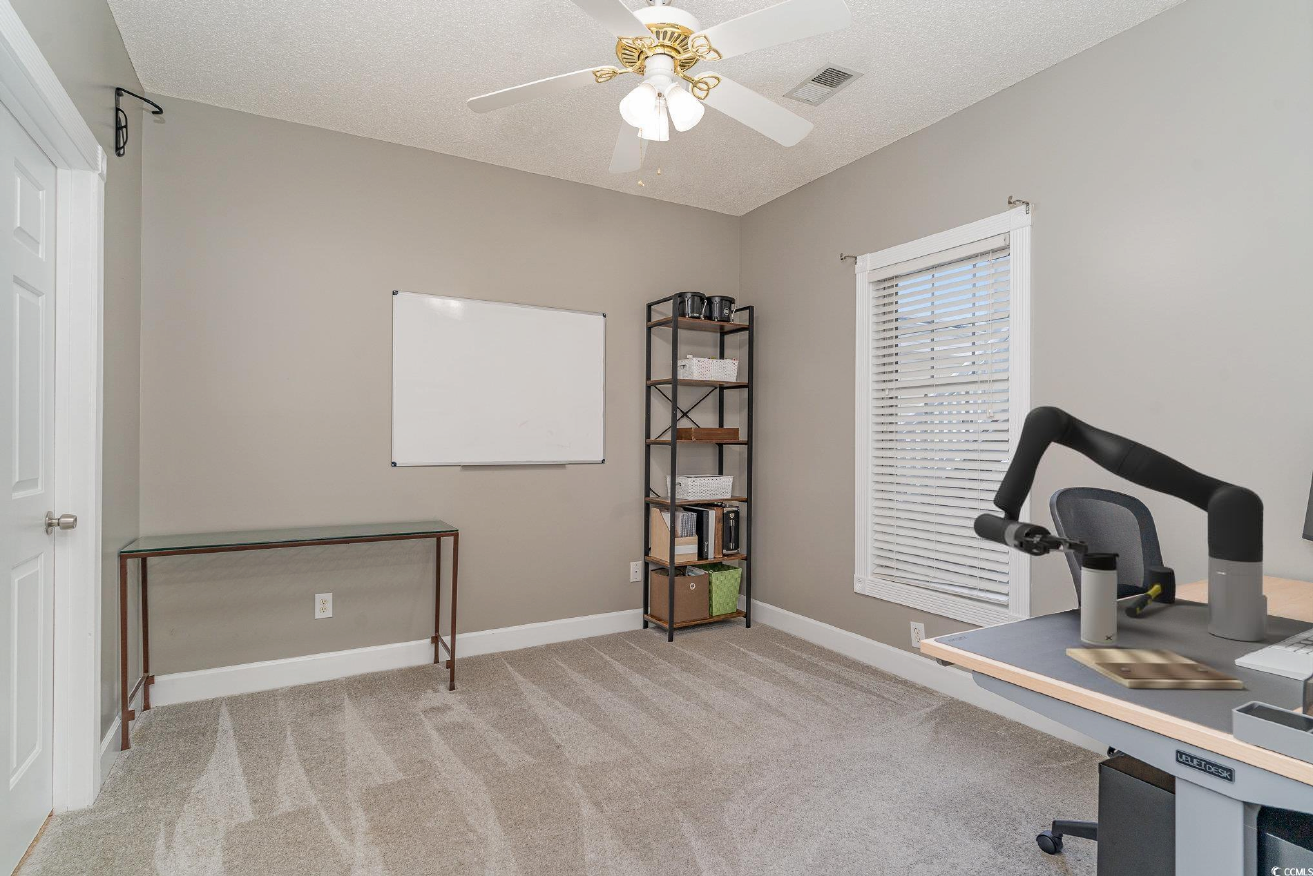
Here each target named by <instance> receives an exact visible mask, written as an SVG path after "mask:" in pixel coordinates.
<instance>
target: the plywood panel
mask: <svg viewBox="0 0 1313 876" xmlns="http://www.w3.org/2000/svg"><path fill="white" fill-rule="evenodd" d="M1065 649H1066V650H1065V654H1067V655H1066V656H1069V657H1070V658H1072V659H1074V660H1076V661H1077V662H1080V663H1081V664H1082V665H1085V666H1087V667H1089V668H1091V669H1092V670H1094V671H1097V673H1100V674H1102V675H1104V676H1106V678H1110V680H1113V681H1115V682H1116V683H1119V684H1120V685H1122V686H1124V687H1126V688H1127V689H1190V690H1191V689H1200V690H1203V689H1206V690H1207V689H1209V690H1210V689H1211V690H1217V689H1218V690H1221V689H1222V690H1243V688H1244V687H1243V681H1241V680H1238V678H1237V677H1234V676H1231V675H1230V674H1227V673H1224V672H1222V671H1220V670H1217V669H1215V668H1213V667H1210V666H1208V665H1205V664H1204V663H1198V662H1197V661H1194V660H1192V659H1189V658H1186V657H1184V656H1183V655H1179V654H1178V653H1174V652H1172V651H1170V650H1167V649H1165V648H1164V649H1161V648H1160V649H1159V648H1158V649H1156V648H1155V649H1154V648H1147V649H1145V648H1142V649H1141V648H1139V649H1138V648H1116V649H1089V648H1065Z"/></svg>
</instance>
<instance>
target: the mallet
mask: <svg viewBox="0 0 1313 876" xmlns="http://www.w3.org/2000/svg"><path fill="white" fill-rule="evenodd" d="M1147 571H1148V572H1147V573H1148V574H1147V590H1148V591H1147V592H1145V593H1144V594H1143V595H1141V596H1140V597H1138V599H1136V600H1135V601H1134V602H1133V603H1132V604H1130V605H1128V606H1126V608H1125V609H1124V610H1125V611H1124V612H1125V615H1126V616H1127V617H1128V618H1135V617H1136V615H1137V616H1138V614H1139V613H1140V612H1141V611H1142V610H1144V609H1145V608H1146V607H1147V606H1148V605H1149V604H1150V603H1151V602H1153V603H1158V604H1166V605H1170V604H1171V605H1172V604H1174V603H1175V601H1176V595H1177V594H1176V590H1177V589H1176V588H1177V586H1176V585H1177V584H1176V574H1175V570H1174V569H1173V568H1172V567H1168V566H1162V565H1161V566H1160V565H1153V566H1150V567H1149V568H1148V570H1147Z"/></svg>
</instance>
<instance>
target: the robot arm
mask: <svg viewBox="0 0 1313 876" xmlns="http://www.w3.org/2000/svg"><path fill="white" fill-rule="evenodd" d="M1052 443H1055V444H1057V445H1060V446H1064V447H1066V448H1069V449H1071V450H1074V451H1076V452H1078V453H1080V454H1082V455H1083V456H1085V457H1086V458H1088V459H1089V460H1091V461H1092V462H1094V463H1095V464H1097V466H1100V467H1101V468H1103V469H1104V470H1105V471H1108V472H1110V473H1111V474H1113V475H1115V476H1117V477H1120V478H1121V479H1124V480H1126V481H1128V482H1130V483H1133V484H1135V485H1138V486H1141V487H1143V488H1146V489H1148V490H1152V491H1155V492H1158V493H1162V494H1164V495H1165V494H1166V495H1169V496H1172V497H1174V498H1177V499H1179V500H1183V501H1184V502H1187V503H1189V504H1190V505H1193V506H1195V507H1196V508H1198V509H1200V510H1202V511H1204V512H1206V513H1207V547H1208V550H1207V551H1208V553H1207V554H1208V560H1207V563H1208V565H1207V566H1208V567H1207V568H1208V569H1207V570H1208V571H1207V573H1208V574H1207V579H1208V581H1207V632H1208V633H1209V634H1210V635H1211V634H1212V635H1213V634H1214V636H1217V637H1219V638H1220V637H1221V638H1226V639H1230V640H1236V641H1243V642H1244V641H1245V642H1259V641H1262V640H1267V639H1268V635H1267V634H1268V596H1267V595H1266V594H1264V593H1263V590H1264V589H1263V588H1264V587H1263V586H1264V585H1263V584H1264V579H1263V577H1264V575H1263V572H1264V571H1263V570H1264V569H1263V568H1264V511H1265V510H1264V503H1263V500H1262V498H1261V497H1260V496H1259V495H1258V494H1257V493H1256V492H1254V491H1253V490H1251V489H1250V488H1247V487H1244V486H1240V485H1237V484H1234V483H1230V482H1227V481H1224V480H1222V479H1218V478H1215V477H1212V476H1209V475H1207V474H1204V473H1202V472H1200V471H1197V470H1195V469H1193V468H1191V467H1189V466H1187V465H1186V464H1184V463H1182V462H1181V461H1178V460H1176V459H1174V458H1173V457H1171V456H1169V455H1167V454H1165V453H1162V452H1161V451H1158V450H1157V449H1154V448H1152V447H1150V446H1147V445H1146V444H1142V443H1140V442H1139V441H1136V440H1132V439H1130V438H1127V437H1126V436H1123V435H1122V436H1121V435H1119V434H1116V433H1113V432H1110V431H1107V430H1104V429H1101V428H1098V427H1095V426H1093V425H1091V424H1088V423H1087V422H1085V421H1083V420H1081V419H1079V418H1077V417H1076V416H1073V415H1072V414H1070V413H1068V412H1066V411H1064V410H1063V409H1061V408H1060V407H1056V406H1051V405H1050V406H1048V405H1043V406H1038V407H1035V408H1033V409H1032V410H1030V411H1029V412H1028V413H1027V415H1026V417H1025V419H1024V423H1023V426H1022V429H1021V434H1020V437H1019V442H1018V444H1017V447H1016V449H1015V452H1014V454H1013V458H1012V460H1011V463H1010V464H1009V467H1008V468H1007V471H1006V472H1005V475H1004V477H1003V479H1002V480H1001V483H1000V484H999V487H998V489H997V491H996V493H995V495H994V498H993V505H994V506H995V507H996V508H998V509H999V510H1001V511H1003V513H1004V514H1003V517H1002V516H998V515H995V514H992V513H986V512H985V513H982V514H979V515H978V516H977V517H976V518H975V520H974V522H973V531H974V533H975V534H976V535H977V536H978V537H979V538H981V539H985V540H987V541H990V542H995V543H998V544H1001V545H1004V546H1006V547H1008V548H1011V549H1014V550H1016V551H1018V552H1021V553H1024V554H1026V555H1030V556H1033V557H1041V556H1044V555H1048V554H1050V552H1051V553H1052V552H1053V553H1054V552H1056V553H1057V552H1058V553H1064V554H1065V553H1068V552H1074V553H1078V554H1081V555H1084V554H1088V553H1089V546H1088V545H1087V544H1086V541H1085V540H1082V539H1076V538H1073V537H1069V536H1068V537H1064V536H1057V535H1054V534H1052V533H1051V532H1050V530H1049V529H1047V528H1046V527H1045V526H1042V525H1039V524H1034V523H1030V522H1025V521H1019V520H1020V515H1021V510H1022V508H1023V506H1024V504H1025V501H1026V500H1027V497H1028V495H1029V493H1030V491H1031V489H1032V487H1033V483H1034V480H1035V476H1036V473H1037V469H1038V467H1039V465H1040V462H1041V460H1042V459H1043V458H1042V457H1043V456H1044V454H1045V452H1046V451H1047V449H1048V448H1049V447H1050V445H1051V444H1052ZM1061 547H1062V548H1061Z"/></svg>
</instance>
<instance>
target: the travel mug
mask: <svg viewBox="0 0 1313 876" xmlns="http://www.w3.org/2000/svg"><path fill="white" fill-rule="evenodd" d="M1117 558H1120V554H1119V553H1118V552H1112V553H1111V552H1110V553H1109V552H1092V553H1091V552H1090V553H1089V552H1088V553H1087V554H1082V556H1081V572H1080V574H1081V579H1080V582H1081V583H1080V584H1081V585H1080V588H1081V591H1080V592H1081V593H1080V644H1081V646H1082V647H1083V648H1085V649H1117V633H1118V632H1117V629H1118V627H1117V623H1118V622H1117V621H1118V619H1117V618H1118V615H1117V614H1118V609H1117V608H1118V601H1117V600H1118V573H1117V572H1118V567H1117V565H1118V562H1117Z"/></svg>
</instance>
